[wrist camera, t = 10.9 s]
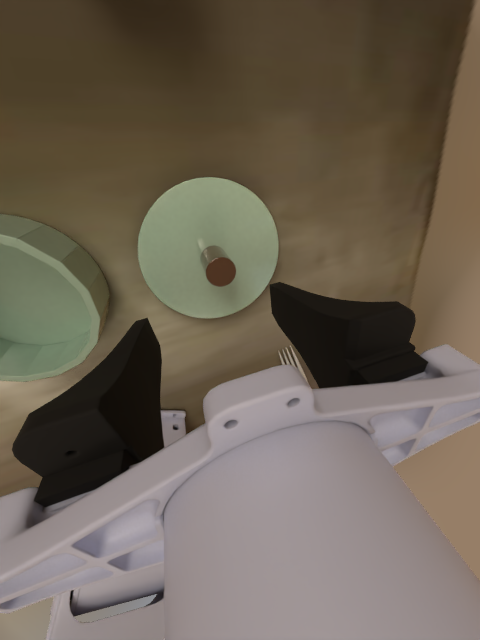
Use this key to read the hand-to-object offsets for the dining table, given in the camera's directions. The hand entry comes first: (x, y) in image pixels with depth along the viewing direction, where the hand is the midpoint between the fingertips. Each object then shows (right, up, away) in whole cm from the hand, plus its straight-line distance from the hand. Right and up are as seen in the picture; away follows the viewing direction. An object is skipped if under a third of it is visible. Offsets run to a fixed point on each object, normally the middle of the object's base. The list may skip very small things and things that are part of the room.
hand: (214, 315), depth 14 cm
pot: (-16, +2, +6) cm, 17 cm away
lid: (-1, +5, +8) cm, 9 cm away
